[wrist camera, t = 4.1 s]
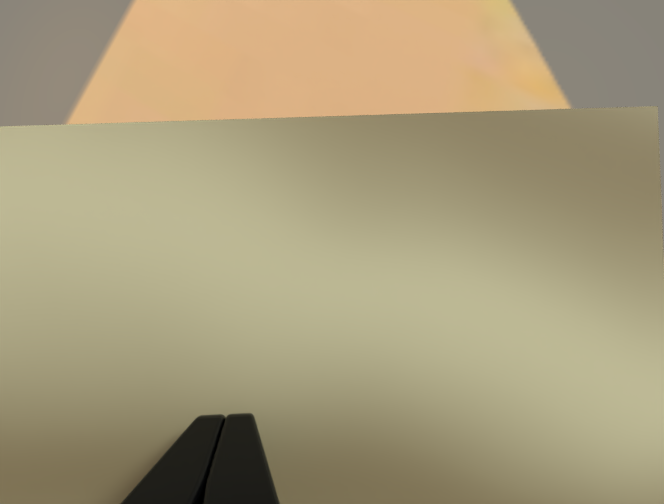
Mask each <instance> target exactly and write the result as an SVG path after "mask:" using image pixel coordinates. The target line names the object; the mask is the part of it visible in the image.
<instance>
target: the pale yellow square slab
mask: <svg viewBox="0 0 664 504" xmlns="http://www.w3.org/2000/svg"><path fill="white" fill-rule="evenodd" d="M662 230H663V229H662V204H661V180H660V154H659V128H658V106H649V107H619V108H618V107H616V108H584V109H552V110H520V111H487V112H455V113H423V114H391V115H359V116H326V117H294V118H262V119H230V120H197V121H165V122H133V123H101V124H69V125H37V126H5V127H0V504H120V503H121V502H122V501H123V500H124V499H125V498H126V497H127V495H128V494H129V493H130V492H131V491H132V490H133V489H134V488H135V486H136V485H137V484H138V483H139V482H140V481H141V480H142V478H143V477H144V476H145V475H146V474H147V473H148V472H149V471H150V469H151V468H152V467H153V466H154V465H155V464H156V463H157V461H158V460H159V459H160V458H161V457H162V456H163V455H164V454H165V452H166V451H167V450H168V449H169V448H170V447H171V446H172V444H173V443H174V442H175V441H176V440H177V439H178V438H179V437H180V435H181V434H182V433H183V432H184V431H185V430H186V429H187V427H188V426H189V425H190V424H191V423H192V422H193V421H194V420H195V419H196V418H197V417H198V416H200V415H214V414H222V415H224V416H225V417H226V416H227V415H229V414H236V413H252V414H253V415H254V417H255V421H256V424H257V427H258V431H259V434H260V438H261V441H262V444H263V448H264V451H265V455H266V458H267V461H268V465H269V468H270V472H271V475H272V478H273V482H274V485H275V489H276V492H277V495H278V499H279V502H280V504H664V256H663V231H662Z"/></svg>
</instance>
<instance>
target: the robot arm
mask: <svg viewBox="0 0 664 504" xmlns="http://www.w3.org/2000/svg"><path fill="white" fill-rule="evenodd" d="M120 504H280V502H279V499H278V495H277V492H276V489H275V485H274V482H273V478H272V475H271V472H270V468H269V465H268V461H267V458H266V455H265V451H264V448H263V444H262V441H261V438H260V434H259V431H258V427H257V424H256V421H255V417H254V415H253V414H252V413H236V414H229V415H227V416H226V417H225V416H224V415H222V414H214V415H200V416H198V417H197V418H196V419H195V420H194V421H193V422H192V423H191V424H190V425H189V426H188V427H187V429H186V430H185V431H184V432H183V433H182V434H181V435H180V437H179V438H178V439H177V440H176V441H175V442H174V443H173V444H172V446H171V447H170V448H169V449H168V450H167V451H166V452H165V454H164V455H163V456H162V457H161V458H160V459H159V460H158V461H157V463H156V464H155V465H154V466H153V467H152V468H151V469H150V471H149V472H148V473H147V474H146V475H145V476H144V477H143V478H142V480H141V481H140V482H139V483H138V484H137V485H136V486H135V488H134V489H133V490H132V491H131V492H130V493H129V494H128V495H127V497H126V498H125V499H124V500H123V501H122V502H121V503H120Z"/></svg>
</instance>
